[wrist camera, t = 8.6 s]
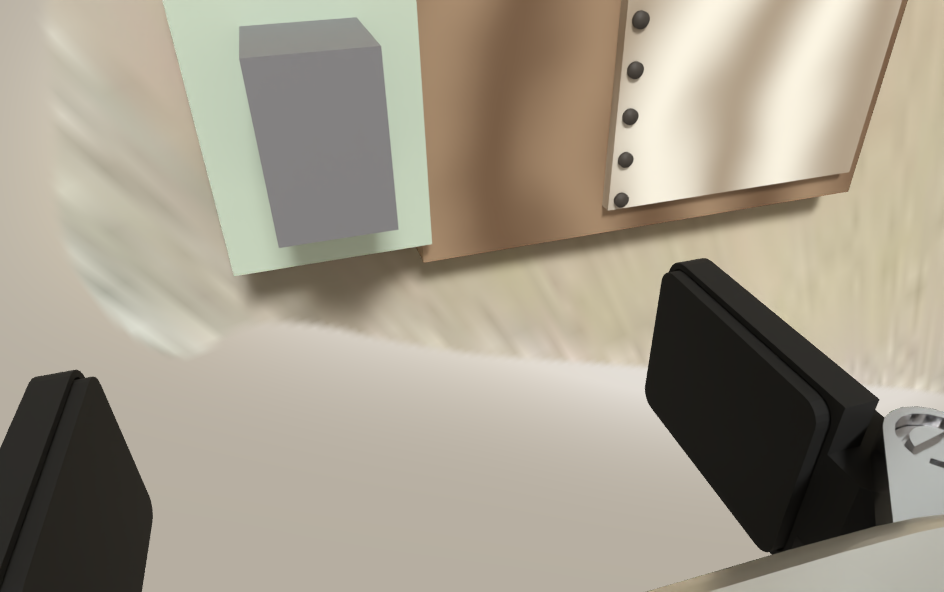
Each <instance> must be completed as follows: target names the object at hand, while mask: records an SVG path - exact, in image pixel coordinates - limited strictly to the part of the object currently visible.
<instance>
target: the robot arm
mask: <svg viewBox="0 0 944 592" xmlns="http://www.w3.org/2000/svg"><path fill="white" fill-rule="evenodd" d="M645 394H646V398H647V401H648V403H649V405H650V406H651V408H652V409H653V411H654V412H655V413H656V414H657V416H658V417H659V419H660V420H661V421H662V423H663V424H664V425H665V427H666V428H667V429H668V430H669V432H670V433H671V434H672V436H673V437H674V438H675V440H676V441H677V442H678V444H679V445H680V446H681V447H682V449H683V450H684V451H685V453H686V454H687V455H688V457H689V458H690V459H691V461H692V462H693V463H694V464H695V466H696V467H697V468H698V470H699V471H700V472H701V474H702V475H703V476H704V478H705V479H706V480H707V481H708V483H709V484H710V485H711V487H712V488H713V489H714V491H715V492H716V493H717V495H718V496H719V497H720V498H721V500H722V501H723V502H724V504H725V505H726V506H727V508H728V509H729V510H730V512H732V514H733V515H734V517H735V518H736V519H737V521H738V522H739V523H740V525H741V526H742V527H743V529H744V530H745V531H746V532H747V534H748V535H749V536H750V538H751V539H752V540H753V542H754V543H755V544H756V545H757V546H758V548H760V549H761V550H762V551H765V552H770V553H771V554H772V555H770V556H767V557H763V558H759V559H756V560H753V561H749V562H746V563H743V564H739V565H736V566H732V567H729V568H726V569H722V570H719V571H715V572H712V573H708V574H705V575H701V576H698V577H695V578H691V579H688V580H685V581H681V582H678V583H674V584H671V585H667V586H664V587H660V588H657V589H654V590H651V591H647V592H944V412H942V411H939V410H936V409H931V408H924V407H901V408H899V409H896V410H893V411H891V412H890V413H889V414H888V415H887V416H886V417H885V418H884V417H883V416H882V415H880V414H879V413H878V412H877V411H876V410H875V408H876V406H877V404H878V401H879V399H878V398H877V397H876V396H875V395H873V394H872V393H871V392H870V391H869V390H867V389H866V388H865V387H864V386H863V385H861V384H860V383H859V382H858V381H856V380H855V379H854V378H853V377H852V376H850V375H849V374H848V373H847V372H845V371H844V370H843V369H842V368H841V367H839V366H838V365H837V364H836V363H835V362H833V361H832V360H831V359H830V358H828V357H827V356H826V355H825V354H824V353H822V352H821V351H820V350H819V349H817V348H816V347H815V346H814V345H813V344H811V343H810V342H809V341H808V340H807V339H805V338H804V337H803V336H802V335H800V334H799V333H798V332H797V331H796V330H794V329H793V328H792V327H791V326H789V325H788V324H787V323H786V322H785V321H783V320H782V319H781V318H780V317H779V316H777V315H776V314H775V313H774V312H772V311H771V310H770V309H769V308H768V307H766V306H765V305H764V304H763V303H761V302H760V301H759V300H758V299H757V298H755V297H754V296H753V295H752V294H751V293H749V292H748V291H747V290H746V289H744V288H743V287H742V286H741V285H740V284H738V283H737V282H736V281H735V280H733V279H732V278H731V277H730V276H729V275H727V274H726V273H725V272H724V271H723V270H721V269H720V268H719V267H718V266H716V265H715V264H714V263H713V262H712V261H710V260H708V259H706V258H701V259H696V260H690V261H685V262H679V263H675V264H674V265H672V267H671V268H670V271H669V272H668V273H666V274H665V275H664V276H663V278H662V282H661V289H660V295H659V301H658V308H657V314H656V320H655V327H654V333H653V340H652V346H651V352H650V359H649V365H648V371H647V378H646V385H645ZM152 519H153V513H152V505H151V500H150V497H149V495H148V492H147V490H146V488H145V485H144V483H143V481H142V479H141V476H140V474H139V472H138V469H137V467H136V465H135V462H134V460H133V458H132V455H131V453H130V451H129V449H128V446H127V444H126V442H125V439H124V437H123V435H122V432H121V430H120V428H119V426H118V423H117V421H116V419H115V416H114V414H113V412H112V410H111V407H110V405H109V403H108V400H107V398H106V396H105V393H104V391H103V389H102V387H101V384H100V383H99V381H98V379H97V378H96V377H88V378H85V377H84V375H83V374H82V373H81V372H80V371H78V370H72V371H67V372H60V373H55V374H50V375H44V376H38V377H34V378H32V379H31V381H30V382H29V384H28V386H27V389H26V391H25V393H24V396H23V398H22V400H21V402H20V404H19V407H18V409H17V411H16V414H15V416H14V418H13V421H12V423H11V425H10V427H9V429H8V432H7V434H6V436H5V439H4V441H3V443H2V445H1V448H0V592H142V585H143V580H144V573H145V567H146V560H147V553H148V547H149V540H150V533H151V527H152Z"/></svg>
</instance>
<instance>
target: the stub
mask: <svg viewBox="0 0 944 592" xmlns="http://www.w3.org/2000/svg"><path fill="white" fill-rule="evenodd" d="M162 1H163V5H164V8H165V12H166V16H167V20H168V24H169V28H170V32H171V35H172V39H173V43H174V47H175V51H176V55H177V58H178V62H179V66H180V70H181V74H182V78H183V82H184V85H185V89H186V93H187V97H188V101H189V105H190V109H191V112H192V116H193V120H194V124H195V128H196V132H197V136H198V139H199V143H200V147H201V151H202V155H203V159H204V163H205V166H206V170H207V174H208V178H209V182H210V186H211V189H212V193H213V197H214V201H215V205H216V209H217V213H218V216H219V220H220V224H221V228H222V232H223V236H224V240H225V243H226V247H227V251H228V255H229V259H230V263H231V267H232V270H233V274H234V276H238V275H245V274H251V273H257V272H263V271H269V270H276V269H282V268H288V267H294V266H300V265H306V264H313V263H319V262H325V261H331V260H337V259H344V258H350V257H356V256H362V255H368V254H374V253H381V252H387V251H393V250H399V249H405V248H412V247H418V246H424V245H430V244H432V234H431V218H430V203H429V187H428V172H427V156H426V141H425V126H424V110H423V95H422V79H421V64H420V49H419V33H418V18H417V2H416V0H162Z"/></svg>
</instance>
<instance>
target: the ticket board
mask: <svg viewBox="0 0 944 592" xmlns="http://www.w3.org/2000/svg"><path fill="white" fill-rule="evenodd" d="M907 1H908V0H416V2H417V18H418V33H419V49H420V64H421V79H422V95H423V110H424V126H425V141H426V156H427V172H428V187H429V203H430V218H431V234H432V244H430V245H424V246H418V247H416V248H417V250H418V252H419V254H420V256H421V258H422V260H423V262H424V263H425V262H431V261H437V260H443V259H449V258H455V257H461V256H467V255H473V254H479V253H485V252H490V251H496V250H502V249H508V248H514V247H520V246H526V245H532V244H538V243H544V242H550V241H556V240H562V239H568V238H574V237H580V236H586V235H592V234H598V233H604V232H610V231H616V230H621V229H627V228H633V227H639V226H645V225H651V224H657V223H663V222H669V221H675V220H681V219H687V218H693V217H699V216H705V215H711V214H717V213H723V212H729V211H735V210H741V209H746V208H752V207H758V206H764V205H770V204H776V203H782V202H788V201H794V200H800V199H806V198H812V197H818V196H824V195H830V194H836V193H842V192H848V190H849V187H850V184H851V181H852V177H853V174H854V171H855V168H856V165H857V161H858V158H859V155H860V152H861V149H862V145H863V142H864V139H865V136H866V132H867V129H868V126H869V123H870V120H871V116H872V113H873V110H874V107H875V104H876V100H877V97H878V94H879V91H880V88H881V84H882V81H883V78H884V75H885V71H886V68H887V65H888V62H889V59H890V55H891V52H892V49H893V46H894V43H895V39H896V36H897V33H898V30H899V27H900V23H901V20H902V17H903V14H904V11H905V7H906V4H907Z"/></svg>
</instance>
